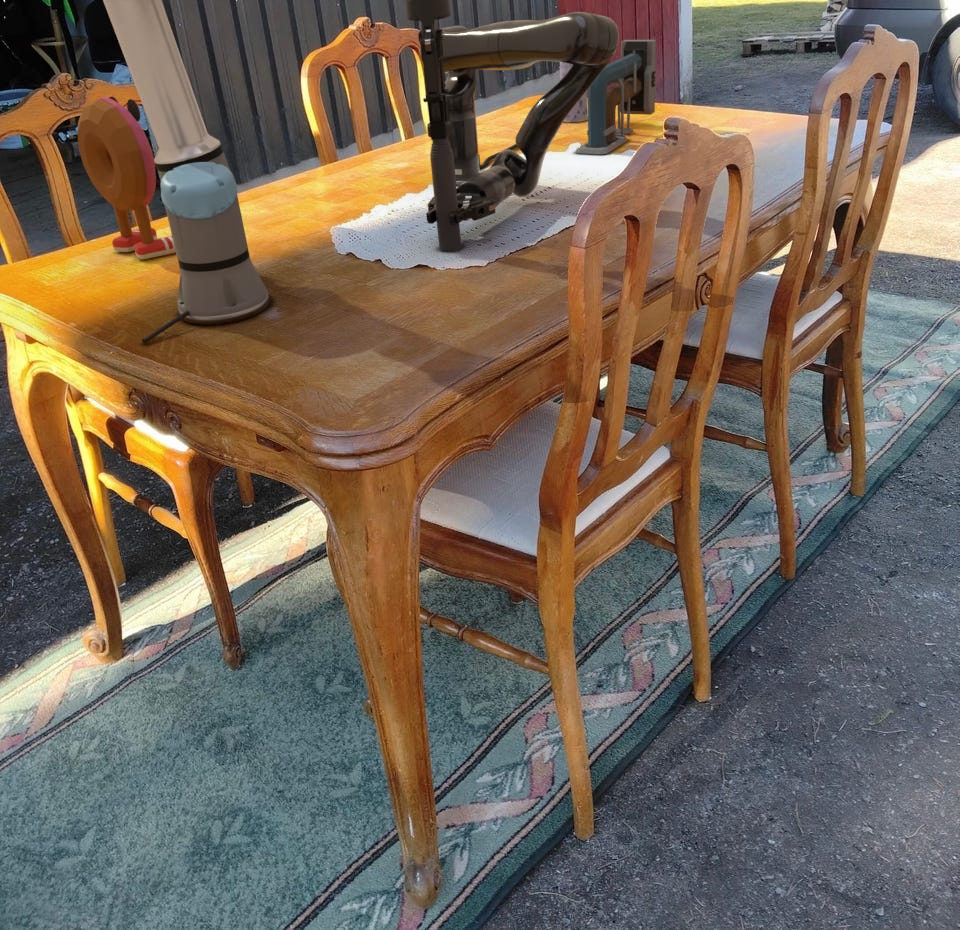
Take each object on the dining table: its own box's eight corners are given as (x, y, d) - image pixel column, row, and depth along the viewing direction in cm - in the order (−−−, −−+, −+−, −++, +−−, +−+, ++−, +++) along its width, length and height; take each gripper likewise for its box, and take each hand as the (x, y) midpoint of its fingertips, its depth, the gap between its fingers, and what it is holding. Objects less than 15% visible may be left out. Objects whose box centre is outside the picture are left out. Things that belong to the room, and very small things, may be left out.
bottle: (434, 249, 185) (422, 129, 174) (448, 243, 188) (437, 124, 177) (452, 252, 183) (441, 130, 172) (465, 246, 186) (455, 125, 175)
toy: (197, 251, 195) (161, 95, 180) (152, 266, 189) (111, 105, 174) (143, 235, 208) (105, 88, 193) (99, 248, 202) (57, 97, 187)
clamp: (605, 154, 239) (605, 62, 228) (573, 153, 243) (571, 62, 232) (654, 123, 265) (655, 39, 254) (624, 122, 269) (624, 39, 258)
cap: (423, 136, 175) (422, 124, 174) (439, 131, 178) (438, 120, 177) (440, 138, 172) (439, 126, 171) (456, 133, 175) (455, 121, 174)
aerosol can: (559, 122, 275) (557, 47, 265) (562, 117, 282) (559, 42, 272) (587, 121, 274) (585, 45, 263) (589, 115, 280) (587, 41, 270)
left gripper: (445, -4, 155) (457, 145, 167) (452, -13, 170) (463, 124, 182) (399, 0, 156) (414, 148, 168) (410, -10, 171) (424, 127, 183)
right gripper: (447, 173, 194) (405, 197, 181) (512, 176, 188) (473, 201, 175) (451, 210, 198) (409, 236, 185) (514, 215, 192) (476, 241, 179)
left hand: (440, 135), depth 175 cm, fingers closed on cap, 4 cm apart
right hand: (440, 219), depth 180 cm, fingers closed on bottle, 4 cm apart
